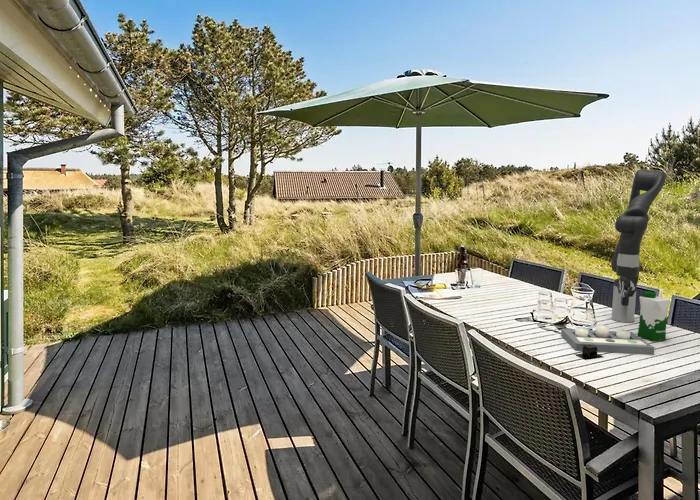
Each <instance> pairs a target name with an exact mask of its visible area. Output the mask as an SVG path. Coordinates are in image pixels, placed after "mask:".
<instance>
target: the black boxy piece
mask: <svg viewBox="0 0 700 500" xmlns="http://www.w3.org/2000/svg"><path fill="white" fill-rule="evenodd" d="M581 352H582V353H575V355H576V357H577V358H579V359H580V358H581V359H582V360H584V361H589V360H595V359H602V358H604V356H603V355H602V354H599V353H598V352H597V347H596V346H594V345H591V344H589V345H583V350H582V351H581ZM575 355H574V356H575Z"/></svg>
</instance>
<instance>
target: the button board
mask: <svg viewBox="0 0 700 500" xmlns="http://www.w3.org/2000/svg"><path fill="white" fill-rule="evenodd" d="M616 331H617V330H615V331H614V330H613V331H612V330H609V338H602V339H618V338H617V337H616ZM595 334H596V329H595V330H593V329H592V330H591V329H588V337H581V338H597V337H596V336H595ZM560 335H561V337H562V338H563V340H565V341H566V342H567V343H568V345H570V346H571V347H572V349H573V350H575V351H577V352H582V350H583V345H589V344H591V345H594V346H596V347H597V353H598V352H599V353H615V354H629V355H632V354H633V355H648V356H649V355H650V356H652V355H653V356H654V355H655V349H656V348H655V346H653V344H650V343H649V342H647V341H645V339H643V338H641V337H638V336H637V335H636V334H635V333H634V332H632V331H630V339H624V340H640V341H642V342H643V343H645V344H646V345H647V346H642V345H621V344H601V343H581V342H579V341H578V340H577V339H576V336H575V329H567V328H566V329H565V328H561V333H560Z"/></svg>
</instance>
